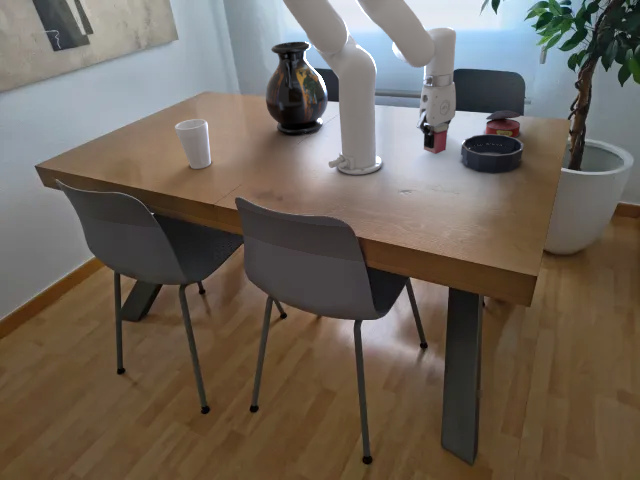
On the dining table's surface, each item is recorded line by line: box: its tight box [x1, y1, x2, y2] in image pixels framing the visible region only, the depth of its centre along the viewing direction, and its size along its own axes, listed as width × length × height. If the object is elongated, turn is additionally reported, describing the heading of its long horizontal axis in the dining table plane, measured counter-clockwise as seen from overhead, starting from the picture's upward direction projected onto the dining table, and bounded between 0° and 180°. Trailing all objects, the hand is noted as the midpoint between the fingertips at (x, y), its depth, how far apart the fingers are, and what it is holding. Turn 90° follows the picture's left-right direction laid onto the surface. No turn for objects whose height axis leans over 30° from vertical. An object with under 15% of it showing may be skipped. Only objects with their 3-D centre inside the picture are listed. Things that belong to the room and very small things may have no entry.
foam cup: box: [174, 118, 212, 170], centre depth 136 cm, size 10×9×13 cm
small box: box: [423, 123, 448, 155], centre depth 127 cm, size 5×4×8 cm
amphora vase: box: [265, 41, 329, 136], centre depth 152 cm, size 22×22×28 cm
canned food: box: [484, 109, 521, 138], centre depth 138 cm, size 11×10×10 cm
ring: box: [460, 134, 525, 174], centre depth 122 cm, size 15×15×5 cm
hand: (434, 144), depth 128 cm, fingers closed on small box, 4 cm apart
